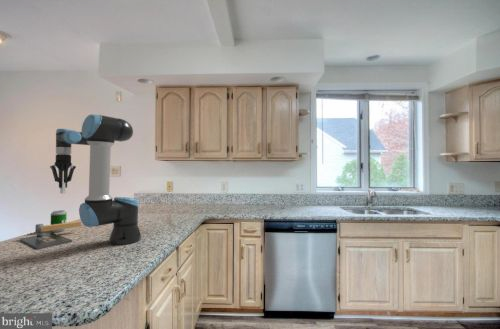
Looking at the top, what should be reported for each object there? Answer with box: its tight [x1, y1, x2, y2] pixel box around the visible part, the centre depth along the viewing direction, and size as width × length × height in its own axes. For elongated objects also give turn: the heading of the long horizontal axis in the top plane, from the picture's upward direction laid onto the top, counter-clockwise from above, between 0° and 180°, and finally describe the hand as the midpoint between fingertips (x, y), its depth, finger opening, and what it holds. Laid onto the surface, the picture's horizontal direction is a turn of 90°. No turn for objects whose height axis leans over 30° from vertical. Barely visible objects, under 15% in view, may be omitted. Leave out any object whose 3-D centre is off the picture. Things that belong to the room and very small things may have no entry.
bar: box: [34, 220, 82, 234], centre depth 138 cm, size 20×3×4 cm, turn 137°
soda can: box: [50, 210, 68, 233], centre depth 147 cm, size 8×8×12 cm
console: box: [19, 232, 73, 250], centre depth 127 cm, size 24×14×3 cm, turn 58°
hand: (62, 193), depth 147 cm, fingers closed
